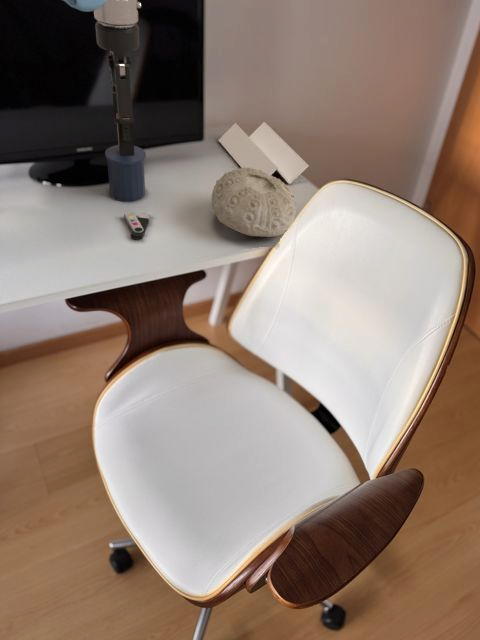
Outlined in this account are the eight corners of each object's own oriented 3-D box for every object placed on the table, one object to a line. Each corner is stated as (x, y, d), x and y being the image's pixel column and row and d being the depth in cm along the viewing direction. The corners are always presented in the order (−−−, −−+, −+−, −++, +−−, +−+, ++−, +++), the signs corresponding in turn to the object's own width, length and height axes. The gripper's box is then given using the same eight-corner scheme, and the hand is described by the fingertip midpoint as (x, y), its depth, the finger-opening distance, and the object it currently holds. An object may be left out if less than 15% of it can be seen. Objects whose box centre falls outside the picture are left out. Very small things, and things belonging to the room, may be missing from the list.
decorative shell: (261, 190, 124) (273, 151, 117) (304, 241, 117) (320, 203, 109) (193, 201, 115) (201, 160, 108) (235, 257, 108) (247, 217, 100)
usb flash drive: (142, 240, 107) (142, 235, 106) (115, 236, 107) (115, 232, 106) (150, 217, 113) (150, 213, 112) (125, 214, 113) (125, 210, 112)
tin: (111, 202, 116) (108, 164, 110) (109, 185, 121) (105, 148, 115) (146, 201, 118) (145, 163, 112) (142, 184, 123) (141, 147, 117)
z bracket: (271, 201, 132) (257, 186, 127) (232, 155, 148) (218, 140, 143) (308, 165, 130) (296, 148, 125) (264, 122, 145) (251, 106, 140)
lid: (106, 168, 110) (102, 122, 104) (104, 149, 116) (100, 105, 109) (148, 167, 112) (146, 122, 106) (143, 149, 118) (142, 106, 111)
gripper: (146, 45, 89) (150, 168, 104) (131, 4, 106) (136, 115, 120) (98, 43, 87) (109, 168, 102) (91, 2, 104) (101, 114, 118)
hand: (124, 140), depth 111 cm, fingers open, 13 cm apart
